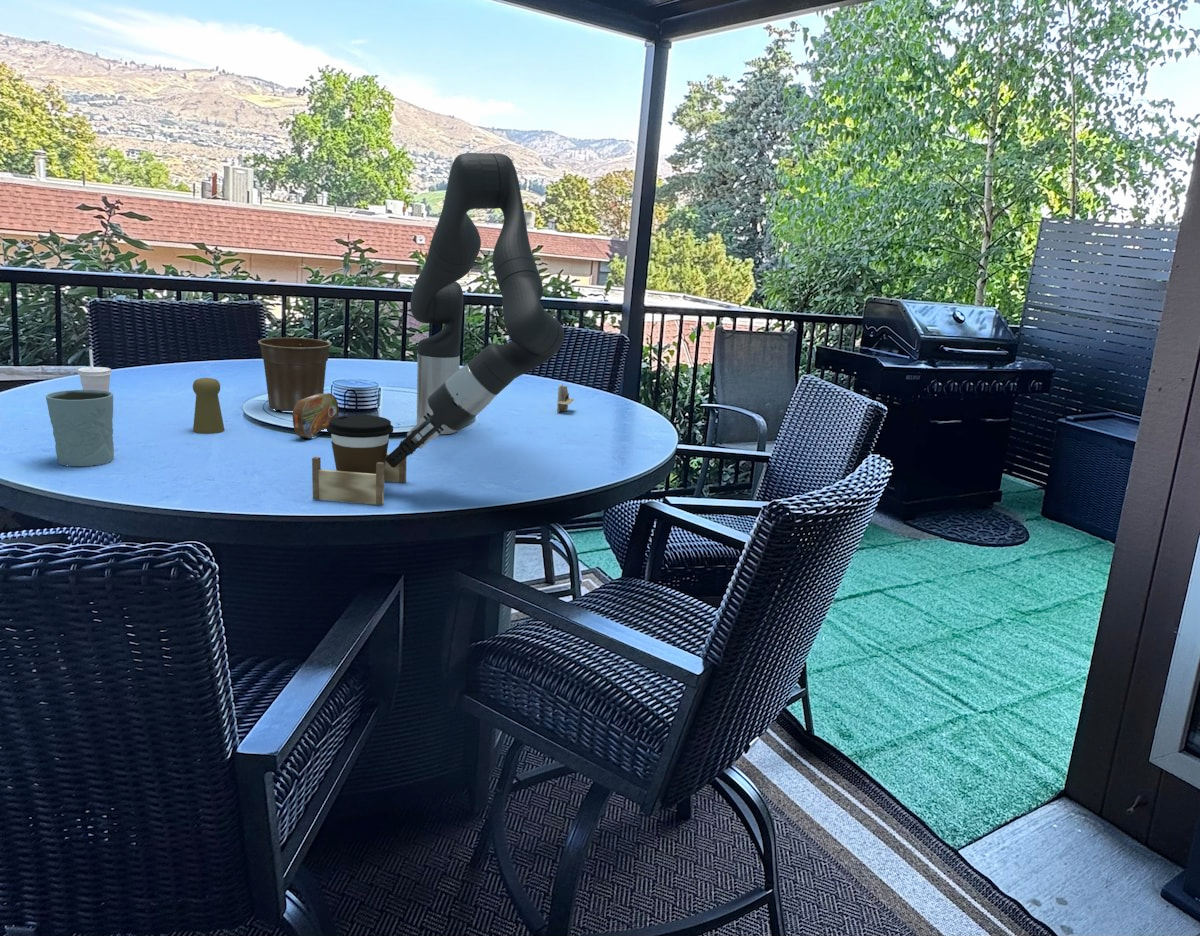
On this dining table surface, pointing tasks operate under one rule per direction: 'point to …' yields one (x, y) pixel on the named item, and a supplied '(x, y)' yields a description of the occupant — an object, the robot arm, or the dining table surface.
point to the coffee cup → (359, 442)
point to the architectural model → (563, 399)
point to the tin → (314, 414)
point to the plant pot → (293, 369)
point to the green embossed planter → (82, 426)
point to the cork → (207, 407)
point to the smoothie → (95, 376)
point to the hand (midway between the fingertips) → (390, 462)
